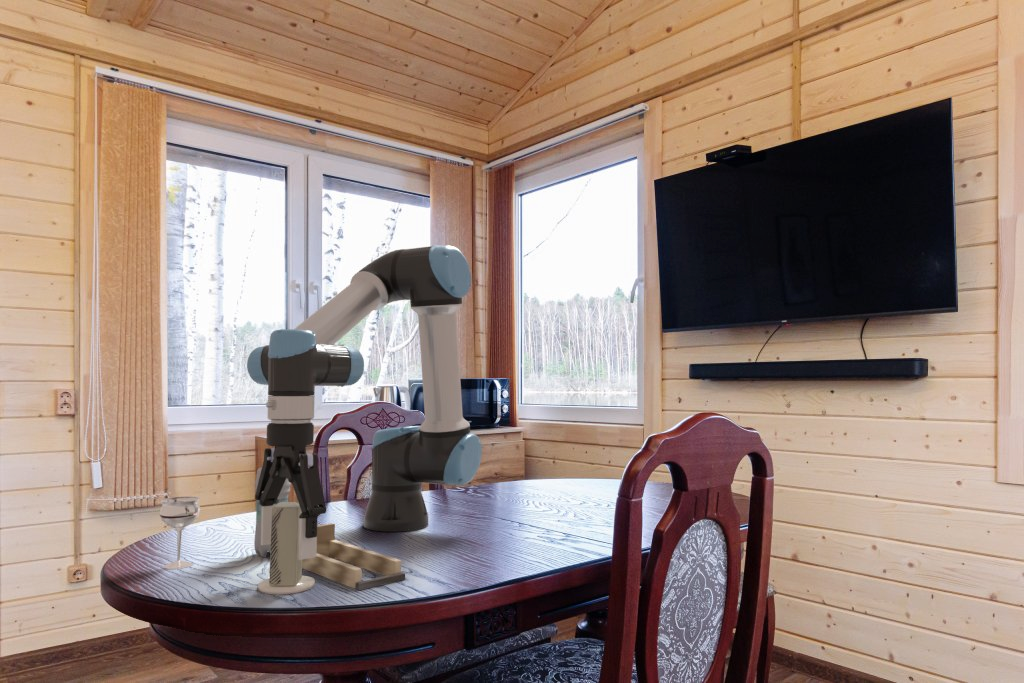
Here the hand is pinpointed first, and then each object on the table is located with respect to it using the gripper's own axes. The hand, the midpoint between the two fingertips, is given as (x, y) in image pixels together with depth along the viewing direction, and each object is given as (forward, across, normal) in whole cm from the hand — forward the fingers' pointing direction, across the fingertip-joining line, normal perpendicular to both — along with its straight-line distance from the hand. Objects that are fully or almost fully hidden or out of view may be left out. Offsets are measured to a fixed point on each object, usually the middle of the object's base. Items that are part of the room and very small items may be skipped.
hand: (287, 550), depth 116 cm
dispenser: (+6, -2, +12) cm, 13 cm away
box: (+5, 0, 0) cm, 5 cm away
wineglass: (+6, -26, -8) cm, 28 cm away
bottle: (+6, -22, +8) cm, 24 cm away
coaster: (+6, 0, 0) cm, 6 cm away
